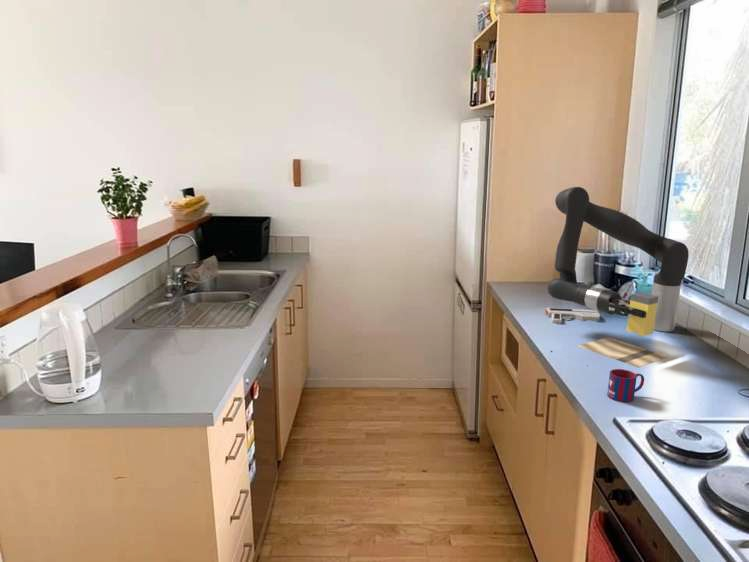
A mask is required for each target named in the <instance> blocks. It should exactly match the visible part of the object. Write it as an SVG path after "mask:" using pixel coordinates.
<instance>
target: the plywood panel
mask: <svg viewBox="0 0 749 562" xmlns="http://www.w3.org/2000/svg"><path fill="white" fill-rule="evenodd" d="M577 347H579V348H581V349H584V350H587V351H590V352H594V353H596V354H598V355H602V356H604V357H608V358H610V359H612V360H616V361H619V362H622V363H624V364H627V365H630V366H632V367H636V368H641V367H643V366H646V365H649V364H652V363H656V362H658V361H661V360H663V359H667V358H669V356H668V355H665V354H661V353H658V352H655V351H652V350H649V349H645V348H643V347H640V346H636V345H634V344H631V343H629V342H625V341H621V340H618V339H615V338H612V337H608V336H607V337H602V338H600V339H597V340H593V341H588V342H586V343H582V344H578V345H577Z"/></svg>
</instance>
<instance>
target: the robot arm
mask: <svg viewBox="0 0 749 562" xmlns="http://www.w3.org/2000/svg"><path fill="white" fill-rule="evenodd" d="M554 201H555V205H556V206H555V207H556V208H557V209H558V210H559V212H560V213H562V214H563V215H565V222H564V223H565V224H564V228H563V230H562V233H561V236H560V238H559V241H558V244H557V247H556V252H555V260H554V261H555V262H554V269H555V271H557V272H558V273H559V278H554V279H552V280H551V281H549V283H548V284H547V292H548V294H549V295H550V297H552V298H553V299H556V300H562V301H566V302H571V303H574V304H577V305H580V306H582V307H587V308H589V309H590V310H597V312H602V313H605V314H608V315H615V314H616V315H620V316H625V317H628V315H630V316H633V315H634V316H637V317H641V318H645V317H646V311H643V310H640V309H636V308H635V309H634V308H633V307H630V301H631V299H627V298H622V296H621V294H620V293H619V292H617V291H614V290H609V289H605V288H601V287H595V286H591V285H588V284H581V283H578V281H577V272H576V271H577V270H576V264H577V257H578V249H579V242H580V237H581V234H582V233H581V232H582V229H583V225H584V222H585V223H586V224H588V225H590V226H592V227H593V228H595V229H596V230H598V231H600V232H602V233H603V234H605V235H608V236H610V237H611V238H613V239H615V240H617V241H618V242H621V243H623V244H626V245H628V246H632V247H635V248H637V249H638V250H639V249H640V250H641V251H643V252H645V253H646V254H647V255H649V256H651V257H652V258H653V259H655V260H656V261H658V262H659V263H660V264H661V265H660V269H659V272H658V273H655V274H654V275H653V279H652V280H653V281H652V288H651V295H654V296H658V303H657V310H656V316H655V323H654V329H653V331H656V332H657V331H659V332H673V331H675V328H676V323H677V316H678V309H679V299H680V296H681V295H680V293H681V286H682V282H683V280H684V279H685V275H686V271H687V267H688V263H689V262H688V261H689V255H690V254H689V253H690V251H689V248H688V246H687V245H686V244H685V243H683V242H681V241H677V240H675V239H672V238H669V237H665V236H662V235H659V234H657V233H655V232H652V231H651V230H649V229H648V228H647V227H646V226H645V225H643V224H642V223H641V222H640V221H638V220H636V219H635V218H633V217H632V216H629V215H627V214H626V213H623V212H622V211H619V210H616V209H613V208H609V207H606V206H601V205H597V204H595V203H592V202H591V201H590V195H589V193H588V191H587V190H586V188H583V187H582V186H574V187H573V186H572V187H570V188H566V189H563V190H561V191H560V192H558V193H557V195H556V197H555V199H554Z"/></svg>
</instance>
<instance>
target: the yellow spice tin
mask: <svg viewBox="0 0 749 562" xmlns="http://www.w3.org/2000/svg"><path fill="white" fill-rule="evenodd" d="M657 303H658V296H654V295H652V294H649V293H645V292H642V291H640V292H636V293H631V295H630V307H633V308H634V309H635V308H636V309H640V310H643V311H646V317H645V318H641V317H637V316H634V315H633V316H630V315H628V316H627V320H626V321H627V324H626V329H625V330H626V331H627V332H630V333H632V334H637V335H640V336H642V337H645V336H648V335H652V334H653V333H654V330H653V329H654V323H655V316H656V310H657Z"/></svg>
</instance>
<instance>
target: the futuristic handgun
mask: <svg viewBox="0 0 749 562" xmlns="http://www.w3.org/2000/svg"><path fill="white" fill-rule="evenodd" d="M545 315H546V317H547V316H548V317H547V318H551V323H552V324H554V323H557V324H556V325H562V324H563V320H576V319H577V320H576V321H580V320H581V322H587V321H592V322H595V321H599V322H600V320H601V319H600V318H601V317H600V316H601V314H600V313H599V311H597V310H594V309H581V308H579V309H578V308H561V307H560V308H558V307H545Z"/></svg>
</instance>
